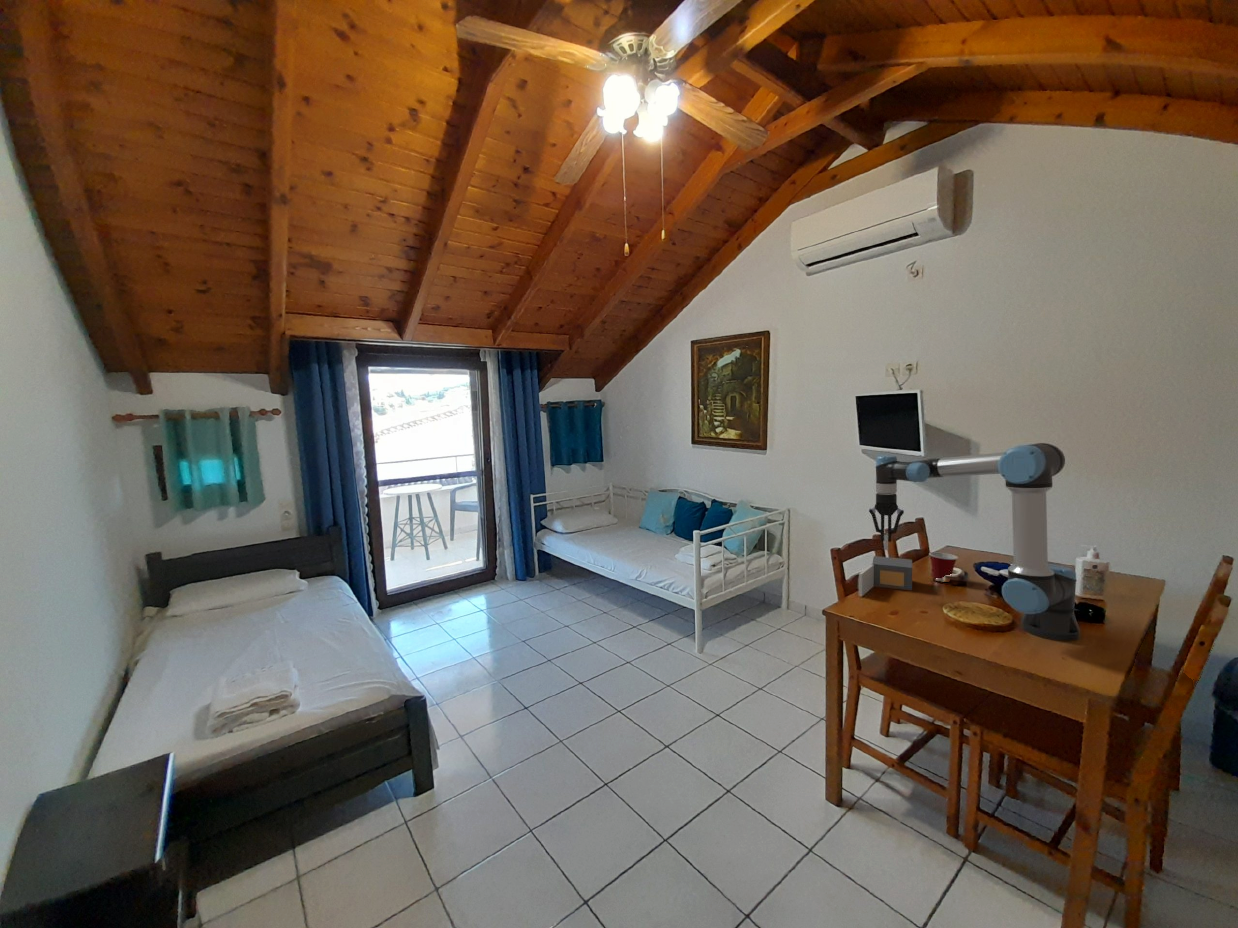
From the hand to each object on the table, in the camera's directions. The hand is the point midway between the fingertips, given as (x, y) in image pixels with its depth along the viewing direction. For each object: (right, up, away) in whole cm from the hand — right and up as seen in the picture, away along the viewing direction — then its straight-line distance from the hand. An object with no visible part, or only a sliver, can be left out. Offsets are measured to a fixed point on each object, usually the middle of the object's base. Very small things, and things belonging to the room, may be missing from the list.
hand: (886, 549), depth 206 cm
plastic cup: (+32, -17, +13) cm, 38 cm away
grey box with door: (+9, -17, +12) cm, 23 cm away
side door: (-6, -19, +5) cm, 20 cm away
